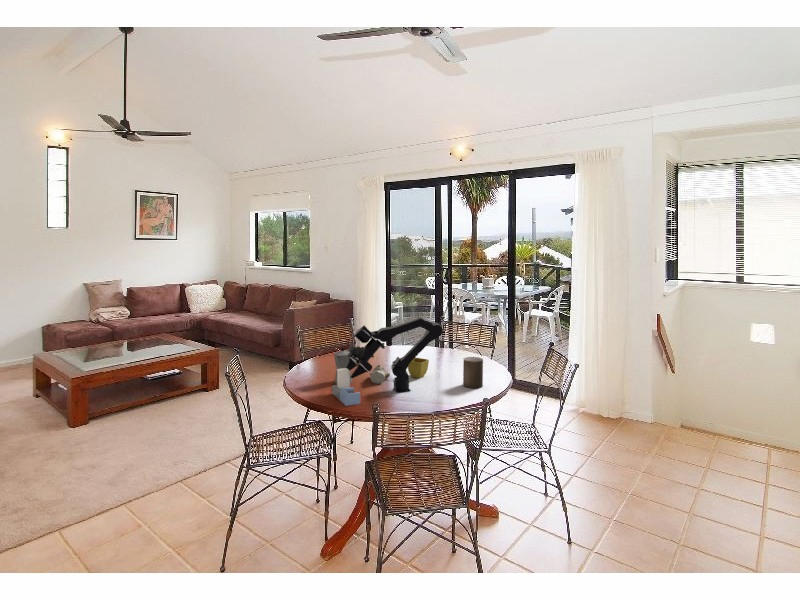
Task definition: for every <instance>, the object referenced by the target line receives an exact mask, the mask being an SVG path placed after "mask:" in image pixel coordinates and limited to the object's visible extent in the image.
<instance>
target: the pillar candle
mask: <svg viewBox="0 0 800 600" xmlns="http://www.w3.org/2000/svg"><path fill="white" fill-rule="evenodd" d="M462 365H463V366H462V367H463V370H462V371H463V374H462V375H463V378H462V379H463V380H462V384H463V387H464V388H467V389H481V388H483V386H484V382H483V381H484V359H483V358H482V357H479V356H467V357H464V358H463V364H462Z"/></svg>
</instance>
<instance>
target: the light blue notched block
mask: <svg viewBox="0 0 800 600" xmlns="http://www.w3.org/2000/svg"><path fill="white" fill-rule="evenodd" d="M351 390H354V391H355V388H354V386H352V387H351V386H350V388H344V389H343V388H340V400H339V401H340V403H342V404H343V405H345V406H346V407H348V406H354V405H360V404H361V392H360V391H356V392H354V393H349V394H348V392H347V391H351Z"/></svg>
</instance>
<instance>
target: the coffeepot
mask: <svg viewBox="0 0 800 600" xmlns="http://www.w3.org/2000/svg"><path fill="white" fill-rule="evenodd" d="M340 348H341V350H340V351H335V352H333V356H334V364H335V367H336V371H335V377H334V378H335V379H334V384H335V385H337V369H342V368H346V366H347V364H348V357H349V356H348V354H349V353H350V352H349V351H348V349H345V347H340ZM351 375H352V372H351V370H350V384H352V383H353V378H351Z"/></svg>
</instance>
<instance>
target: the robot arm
mask: <svg viewBox="0 0 800 600" xmlns="http://www.w3.org/2000/svg"><path fill="white" fill-rule="evenodd" d="M417 328H422V329H423V330H425V332H424V334H423V335H422V337H420V339H419V340H418V341H417V342H416V343H415V344H414V345H413V346H412V347H411V348H410V349H409V350H408V351H407V352H406V353H405V355H403V356H402V357H399V356H397V357H396V359H395V360H393V361H392V362H391V366H390V369H391V372H392V375H394V376H395V377H394V380H393V388H392V390H394V391H395V392H397V393H406V392H411V389H410V376H409V375H410V374H409V372H408V371H407V370H408V366H409V364H410V362H411V361H412V360H413V359H414V358H415V357H416V358H417V356H418V355H419V354H420V353H421V352H422V351H423V350H424V349H425V348H426V347H427V346H428V345H429V344H430V343H431V342H433V341H435V340H436V339H438V338H439V337H441V336H442V334H443V332H444V329H443V327H442V326H441V325H440V323H438V322H432V321H428V320H427V319H424V318H422V317H419V316H418V317H416V318H415V319H412V320H408V321H406V322H403V323H401V324H397V325H394V326H386V327H380V328H379V329H378V330H374V331H370V330H369V328H368V327H367V326H366V325H362V326H361V327H360V328H358V329H357V331H356V332H355V333H354V334H353V336H354V337H355V338H356V339H357V340H358V341H360V343H361V344H365V345H364V346H361V347H360V346H358V345H357V346H355V345H351V344H350V345H349V347H348V349H347V350H348V351H349V352H350V353H349V354H348V356H349V357H348V364H347V366H346V368H347V369H348V370H350V371H351V370H353V369H354V371H353V372H352V373H351V378H352V379H354V378H357V377H358V376H361V375H363V374H365V373H368V372H370V373H371V372H372V371H373V365H372V364H371V363H370V362H369V360H370V359H374V357H375V356H374V355H375V354H376V352H377V351H378V350H379V349H380V348H381V349H382V350H385V348H386V346H385V343H386V342H389V341H390V340H392V339H394V338H395V337H397V336H399V335H401V334H403V333H406V332H409V331H413V330H415V329H417Z"/></svg>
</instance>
